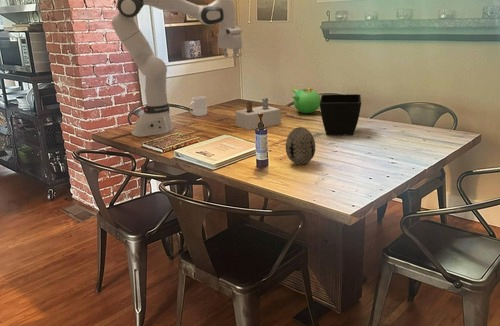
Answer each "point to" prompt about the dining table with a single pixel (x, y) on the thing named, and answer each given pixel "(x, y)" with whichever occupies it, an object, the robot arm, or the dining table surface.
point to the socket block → (251, 119)
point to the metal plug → (265, 103)
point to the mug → (199, 106)
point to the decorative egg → (300, 146)
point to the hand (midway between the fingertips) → (230, 57)
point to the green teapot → (306, 100)
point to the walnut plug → (249, 106)
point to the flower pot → (340, 113)
